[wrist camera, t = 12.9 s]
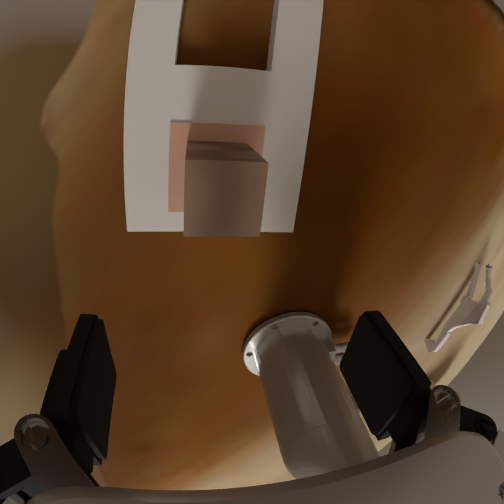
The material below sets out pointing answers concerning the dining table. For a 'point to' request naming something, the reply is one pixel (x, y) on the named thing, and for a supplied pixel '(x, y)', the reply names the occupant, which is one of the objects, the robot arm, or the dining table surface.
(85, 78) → the dining table surface
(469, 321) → the llama figurine
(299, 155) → the pocket board
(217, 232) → the walnut block
